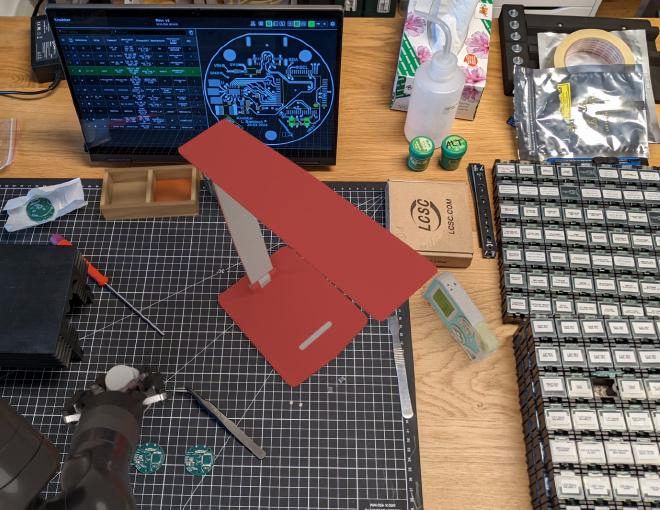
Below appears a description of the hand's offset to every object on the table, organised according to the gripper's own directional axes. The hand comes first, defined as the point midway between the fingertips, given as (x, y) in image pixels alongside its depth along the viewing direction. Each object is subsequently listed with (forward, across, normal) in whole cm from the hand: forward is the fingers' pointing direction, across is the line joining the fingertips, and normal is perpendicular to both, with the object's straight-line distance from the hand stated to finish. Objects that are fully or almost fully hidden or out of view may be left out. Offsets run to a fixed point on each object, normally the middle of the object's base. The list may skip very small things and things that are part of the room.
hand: (125, 374), depth 92 cm
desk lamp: (+11, -28, +3) cm, 30 cm away
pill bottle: (+3, 0, +6) cm, 7 cm away
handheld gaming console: (+6, -53, +8) cm, 54 cm away
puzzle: (+33, -20, -19) cm, 43 cm away
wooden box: (+34, -6, -20) cm, 40 cm away
